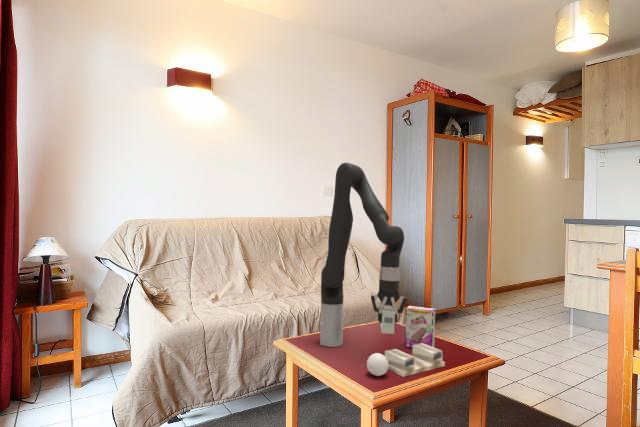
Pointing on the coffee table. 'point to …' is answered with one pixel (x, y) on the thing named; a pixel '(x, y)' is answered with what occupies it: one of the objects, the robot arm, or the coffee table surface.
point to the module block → (388, 320)
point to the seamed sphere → (377, 364)
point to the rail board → (414, 360)
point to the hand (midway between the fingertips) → (387, 322)
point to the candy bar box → (419, 326)
